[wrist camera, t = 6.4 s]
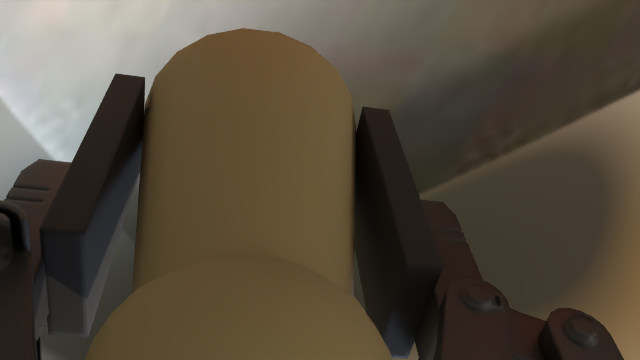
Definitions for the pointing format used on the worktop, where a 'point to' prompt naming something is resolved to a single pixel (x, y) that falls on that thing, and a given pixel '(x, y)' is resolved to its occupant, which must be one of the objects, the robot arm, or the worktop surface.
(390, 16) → the worktop surface
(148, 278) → the cork
